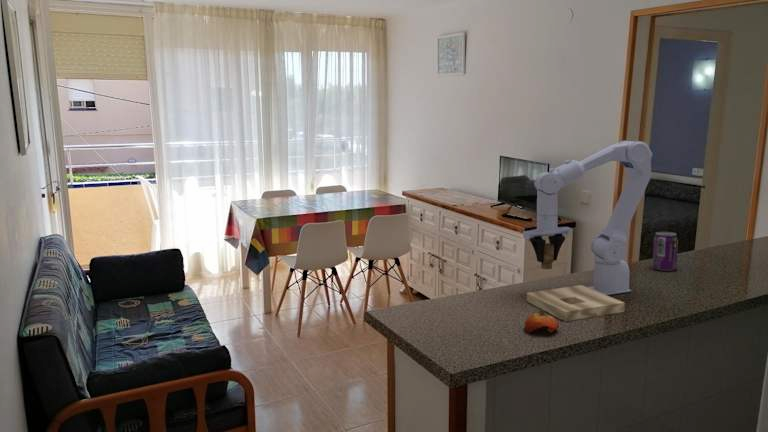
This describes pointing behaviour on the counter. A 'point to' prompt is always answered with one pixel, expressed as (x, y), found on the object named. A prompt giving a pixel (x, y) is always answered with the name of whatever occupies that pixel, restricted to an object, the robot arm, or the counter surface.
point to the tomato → (540, 322)
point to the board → (575, 302)
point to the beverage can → (665, 251)
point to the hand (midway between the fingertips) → (546, 260)
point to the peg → (548, 256)
